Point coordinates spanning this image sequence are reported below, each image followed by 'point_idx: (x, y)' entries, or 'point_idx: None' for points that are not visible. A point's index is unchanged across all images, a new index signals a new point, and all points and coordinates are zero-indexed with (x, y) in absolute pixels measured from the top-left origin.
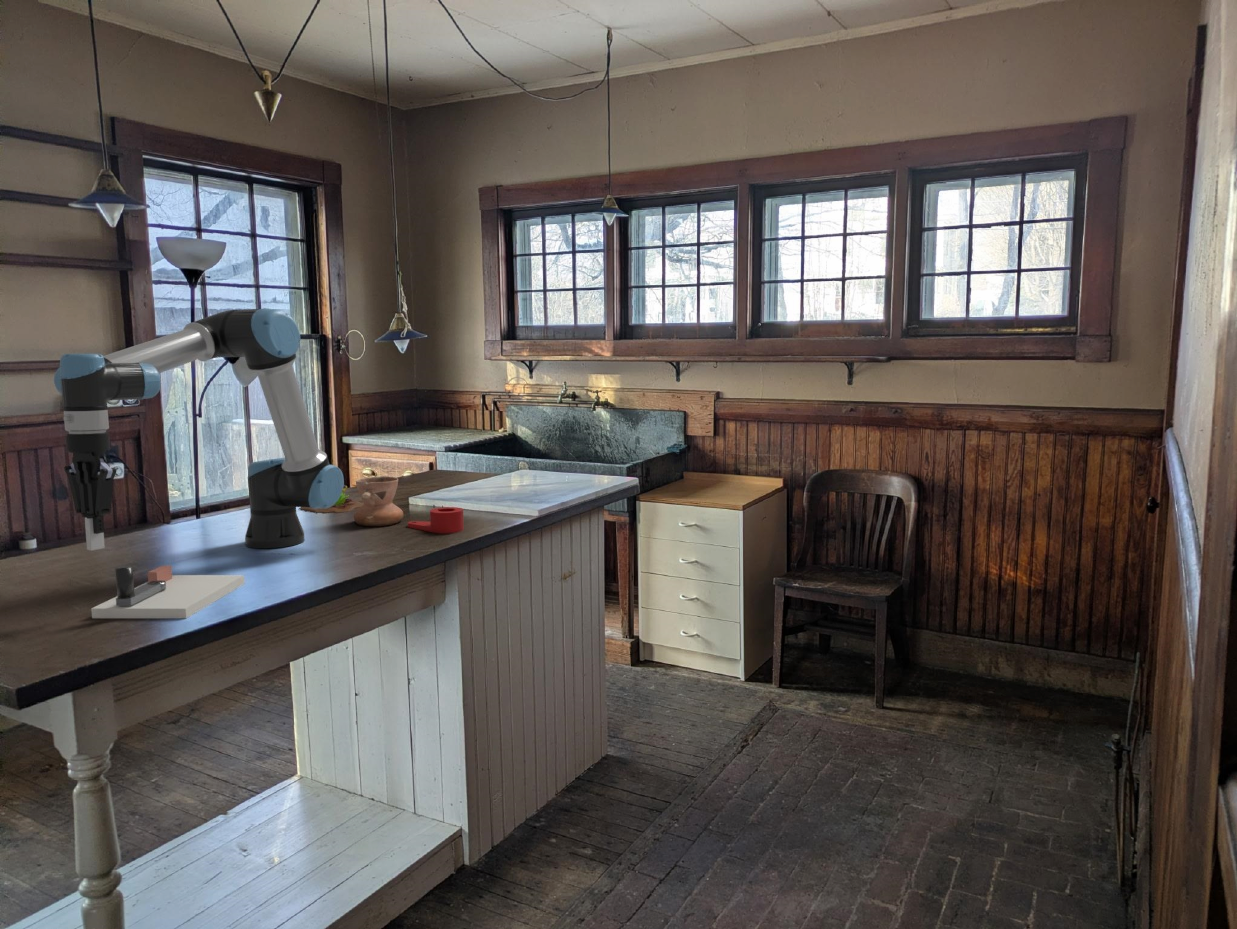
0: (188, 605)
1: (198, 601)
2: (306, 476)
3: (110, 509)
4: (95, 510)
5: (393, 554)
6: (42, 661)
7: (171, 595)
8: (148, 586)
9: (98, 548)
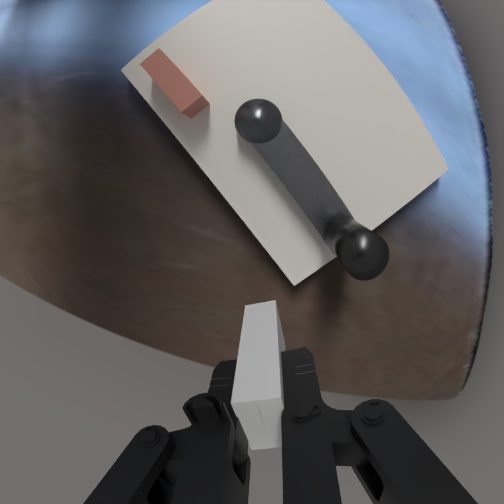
0: (436, 152)
1: (423, 122)
2: None
3: (402, 418)
4: (355, 470)
5: None
6: (425, 376)
7: (335, 124)
8: (285, 151)
9: (280, 324)
